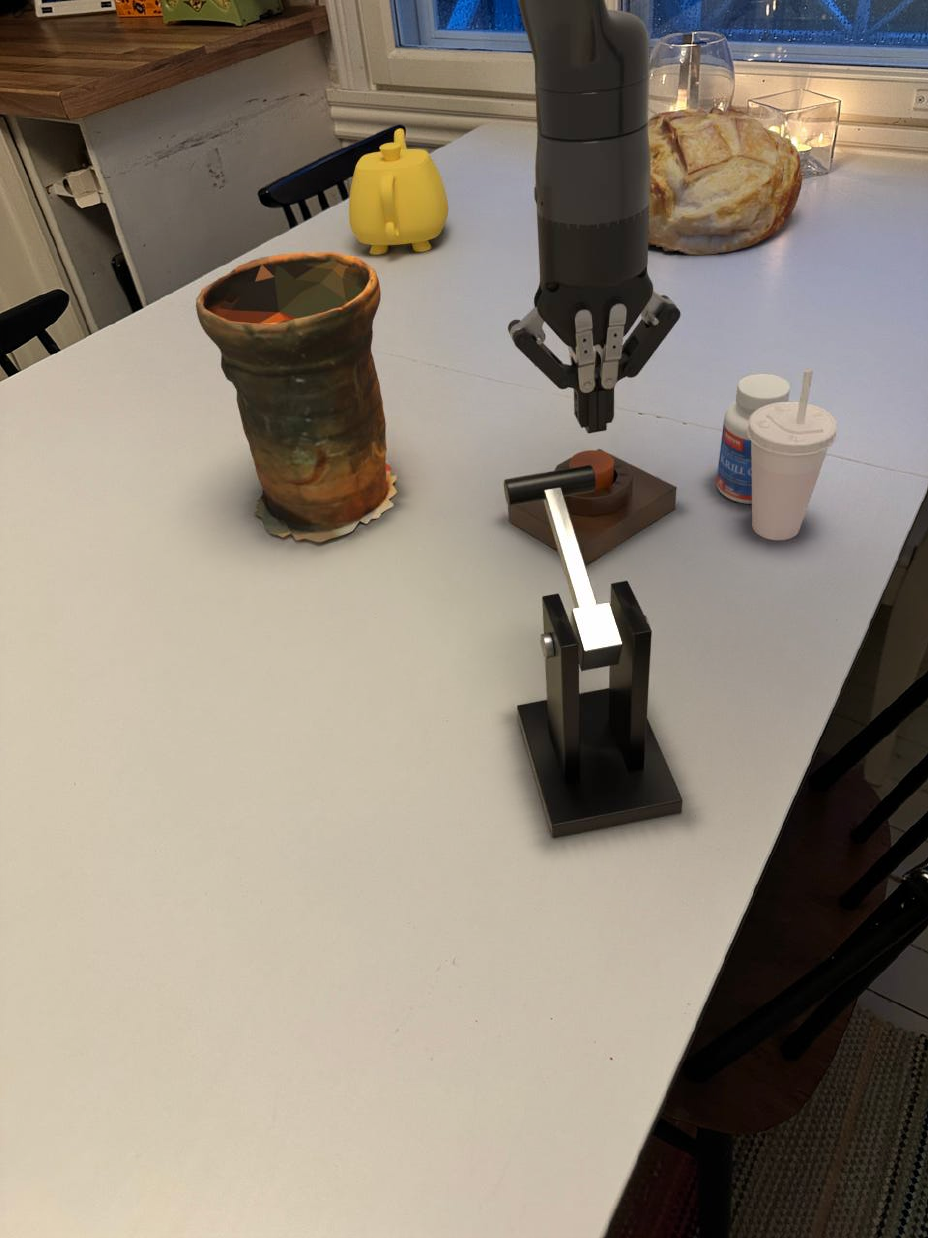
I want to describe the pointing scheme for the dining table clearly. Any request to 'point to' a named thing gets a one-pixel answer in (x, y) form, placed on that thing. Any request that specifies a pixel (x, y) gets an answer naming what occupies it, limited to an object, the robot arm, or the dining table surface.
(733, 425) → the pill bottle
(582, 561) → the switch
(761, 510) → the smoothie
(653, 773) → the switch bracket
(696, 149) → the bread
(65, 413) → the dining table surface
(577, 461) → the button
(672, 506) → the button block
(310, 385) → the vessel
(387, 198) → the teapot
